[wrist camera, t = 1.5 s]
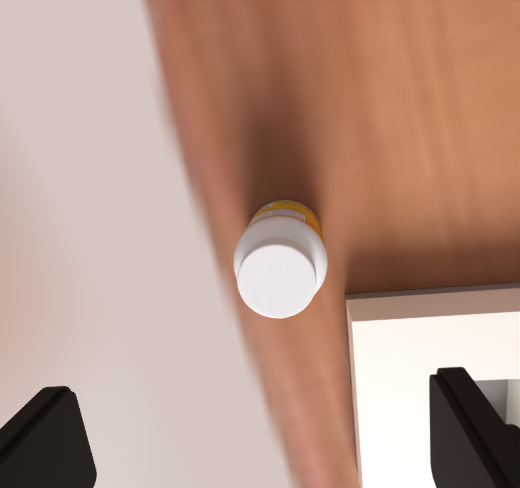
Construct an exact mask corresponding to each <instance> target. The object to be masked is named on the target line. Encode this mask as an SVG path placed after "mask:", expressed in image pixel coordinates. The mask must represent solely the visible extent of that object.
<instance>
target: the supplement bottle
mask: <svg viewBox="0 0 520 488" xmlns="http://www.w3.org/2000/svg"><path fill="white" fill-rule="evenodd" d="M233 263H234V271H235V275H236V278H237V283H238V289H239V292H240V294H241V296H242V298H243V300H244V301H245V303H246V304H247V305H248V306H249V307H250V308H251V309H252V310H254V311H255V312H257V313H259V314H261V315H263V316H266V317H270V318H285V317H289V316H292V315H295V314H297V313H299V312H300V311H302V310H303V309H304V308H305V307H306V306H307V305H308V304H309V303H310V301H311V300H312V298H313V296H314V294H315V293H316V292H317V291H318V290H319V288H320V287H321V285H322V283H323V281H324V279H325V276H326V272H327V253H326V248H325V243H324V238H323V234H322V229H321V226H320V223H319V221H318V219H317V218H316V216H315V215H314V213H313V212H312V211H311V210H310V209H308V208H307V207H306V206H304V205H302V204H300V203H298V202H294V201H290V200H279V201H275V202H272V203H269V204H267V205H265V206H264V207H262V208H261V209H260V210H259V211H258V212H257V213H256V214H255V215H254V216H253V218H252V219H251V221H250V223H249V224H248V226H247V228H246V229H245V231H244V233H243V234H242V236H241V237H240V239H239V241H238V243H237V246H236V249H235V253H234V262H233Z"/></svg>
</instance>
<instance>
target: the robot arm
mask: <svg viewBox="0 0 520 488" xmlns="http://www.w3.org/2000/svg"><path fill="white" fill-rule="evenodd" d="M429 396H430V460H431V472H432V476H433V480H434V483H435V486H436V488H520V428H519V427H518V426H516V425H514V424H505V423H504V421H503V420H502V419H501V417H500V416H499V415H498V413H497V412H496V410H495V409H494V408H493V406H492V405H491V404H490V402H489V401H488V399H487V398H486V397H485V395H484V394H483V393H482V391H481V390H480V388H479V387H478V386H477V384H476V383H475V382H474V380H473V379H472V377H471V376H470V375H469V373H468V372H467V371H466V369H465V368H464V367H447V368H438V369H437V374H431V375H430V377H429ZM96 476H97V472H96V468H95V464H94V460H93V456H92V453H91V449H90V445H89V442H88V438H87V435H86V430H85V427H84V423H83V419H82V416H81V412H80V408H79V405H78V401H77V397H76V394H75V393H74V392H72V391H71V390H70V389H69V388H68V387H66V386H58V387H57V386H56V387H45V388H43V389H42V390H40V391H39V392H38V393H37V394H36V395H35V396H34V397H33V398H32V399H31V400H30V401H29V402H28V403H27V404H26V405H25V406H24V407H23V408H22V409H21V410H20V411H19V412H17V414H15V415H14V416H13V417H12V418H11V419H10V420H9V421H8V422H7V423H6V424H5V425H4V426H3V427H2V428H1V429H0V488H93V487H94V485H95V481H96Z"/></svg>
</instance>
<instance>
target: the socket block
mask: <svg viewBox="0 0 520 488" xmlns="http://www.w3.org/2000/svg"><path fill="white" fill-rule="evenodd" d="M345 308H346V322H347V336H348V350H349V365H350V379H351V393H352V407H353V422H354V436H355V450H356V465H357V472H358V478H359V484H360V488H436V486H435V483H434V480H433V476H432V472H431V460H430V396H429V377H430V375H431V374H437V369H438V368H447V367H464V368H465V369H466V371H467V372H468V373H469V375H470V376H471V377H472V379H473V380H474V382H475V383H476V384H477V386H478V387H479V388H480V390H481V391H482V393H483V394H484V395H485V397H486V398H487V399H488V401H489V402H490V404H491V405H492V406H493V408H494V409H495V410H496V412H497V413H498V415H499V416H500V417H501V419H502V420H503V421H504V423H505V424H514V425H516V426H518V427H519V428H520V282H515V283H501V284H487V285H473V286H459V287H445V288H430V289H416V290H402V291H388V292H374V293H360V294H345Z"/></svg>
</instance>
